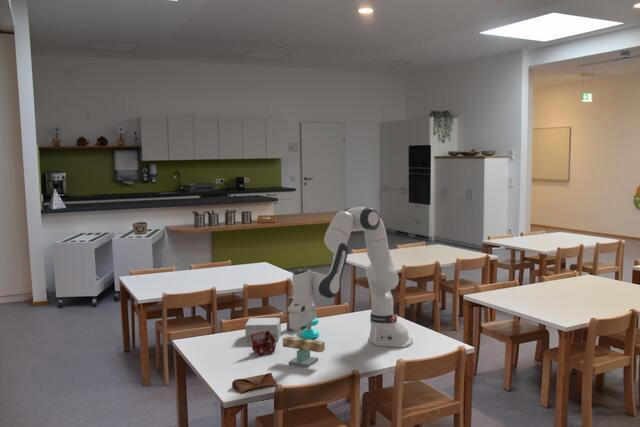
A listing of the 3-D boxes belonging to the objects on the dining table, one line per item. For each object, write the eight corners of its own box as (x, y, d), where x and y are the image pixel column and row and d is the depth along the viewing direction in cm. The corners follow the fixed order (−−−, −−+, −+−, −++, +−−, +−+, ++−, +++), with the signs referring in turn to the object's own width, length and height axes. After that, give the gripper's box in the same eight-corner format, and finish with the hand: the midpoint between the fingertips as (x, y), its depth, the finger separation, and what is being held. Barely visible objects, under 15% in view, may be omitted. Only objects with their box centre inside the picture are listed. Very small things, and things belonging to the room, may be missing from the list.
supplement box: (281, 334, 308) (280, 317, 307) (278, 342, 295) (277, 324, 294) (249, 334, 309) (249, 317, 308) (245, 342, 295) (244, 324, 295)
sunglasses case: (239, 394, 230) (235, 377, 233) (234, 397, 236) (230, 381, 238) (280, 385, 239) (276, 369, 241) (274, 388, 244) (270, 373, 247)
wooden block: (307, 328, 317) (306, 296, 315) (288, 330, 313) (287, 298, 311) (304, 326, 320) (304, 294, 318) (286, 329, 316) (285, 297, 314)
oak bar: (282, 346, 267) (282, 338, 267) (286, 344, 270) (286, 336, 270) (321, 352, 258) (321, 343, 258) (324, 350, 261) (324, 341, 261)
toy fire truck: (278, 352, 279) (278, 331, 278) (254, 357, 273) (254, 335, 272) (272, 348, 285) (272, 327, 284) (249, 352, 279) (248, 332, 278)
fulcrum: (318, 360, 267) (318, 346, 266) (308, 367, 258) (307, 353, 257) (299, 357, 271) (299, 343, 271) (288, 364, 263) (288, 350, 262)
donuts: (321, 316, 303) (314, 321, 294) (321, 335, 304) (314, 340, 295) (304, 315, 307) (296, 320, 298) (304, 333, 308) (296, 338, 299)
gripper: (307, 297, 273) (308, 326, 274) (285, 309, 254) (287, 339, 256) (319, 298, 270) (320, 327, 271) (298, 310, 252) (299, 341, 253)
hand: (304, 333), depth 263 cm, fingers open, 8 cm apart
